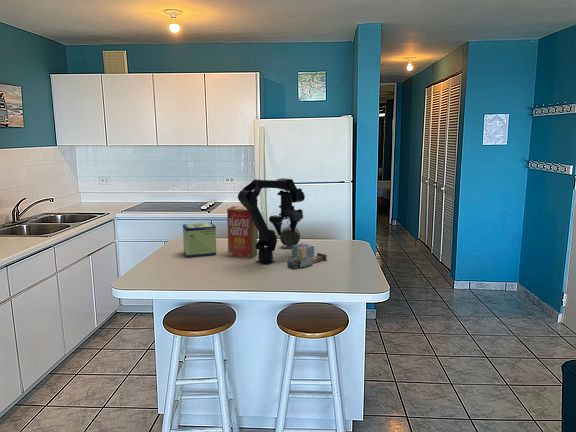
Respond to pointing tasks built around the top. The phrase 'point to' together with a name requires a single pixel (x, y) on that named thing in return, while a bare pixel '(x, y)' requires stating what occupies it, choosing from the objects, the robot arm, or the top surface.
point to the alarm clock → (289, 236)
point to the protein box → (199, 239)
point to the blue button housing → (309, 247)
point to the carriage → (302, 257)
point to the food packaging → (241, 233)
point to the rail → (316, 259)
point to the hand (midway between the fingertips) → (286, 234)
